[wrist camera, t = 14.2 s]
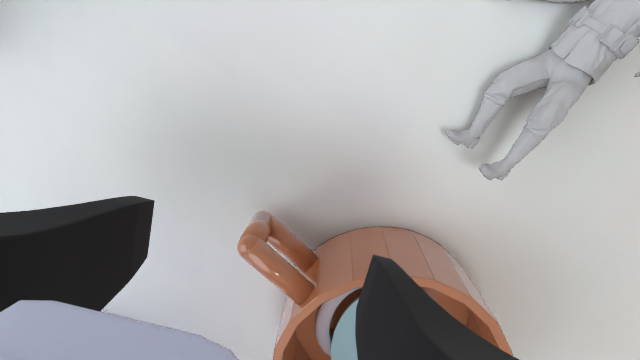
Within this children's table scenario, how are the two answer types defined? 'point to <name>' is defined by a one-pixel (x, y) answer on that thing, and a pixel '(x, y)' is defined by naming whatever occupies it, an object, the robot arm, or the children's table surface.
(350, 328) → the pacifier
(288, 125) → the children's table surface
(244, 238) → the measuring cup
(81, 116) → the children's table surface
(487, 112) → the soldier figure
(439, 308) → the robot arm
